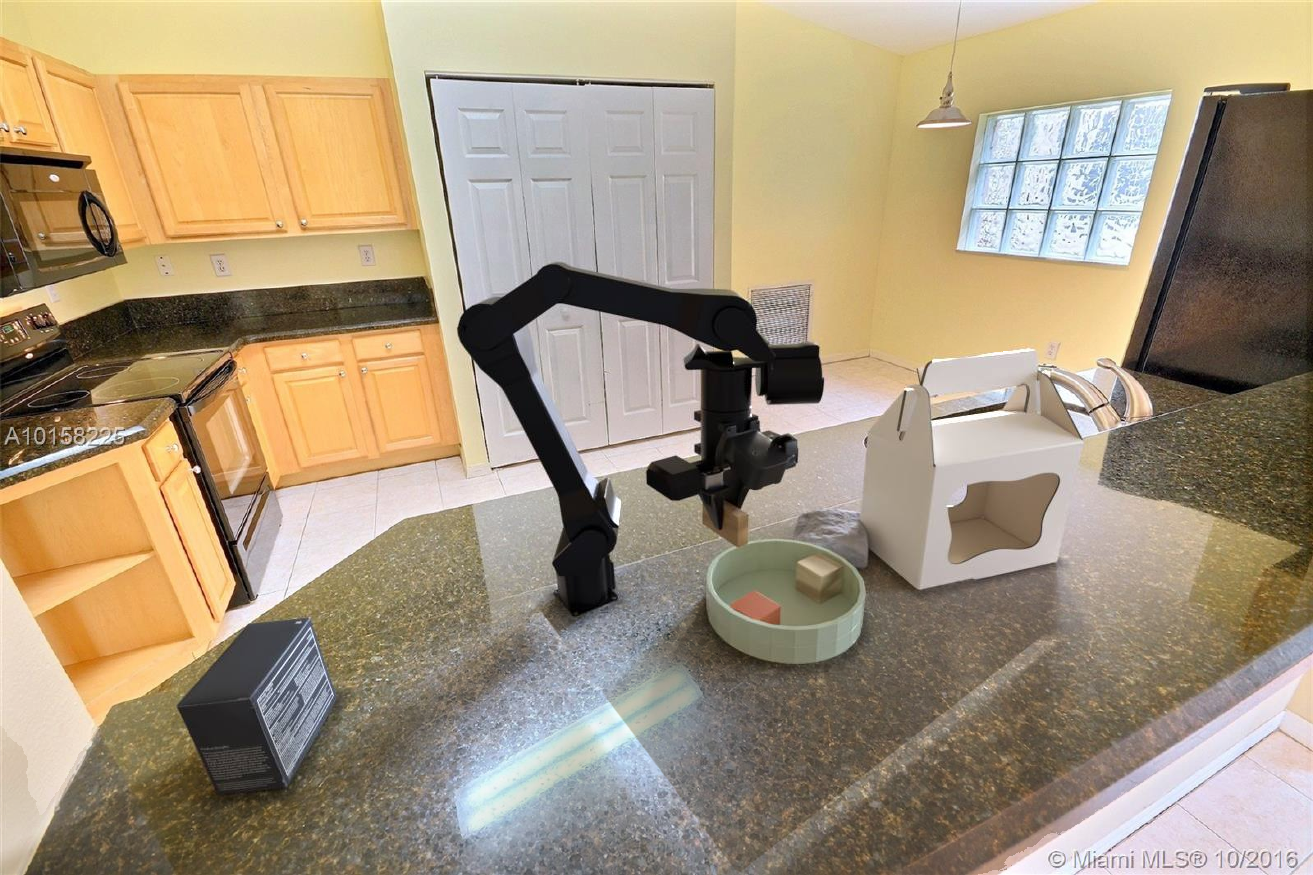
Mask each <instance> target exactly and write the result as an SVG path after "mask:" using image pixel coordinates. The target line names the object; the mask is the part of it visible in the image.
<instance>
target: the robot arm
mask: <svg viewBox="0 0 1313 875" xmlns="http://www.w3.org/2000/svg"><path fill="white" fill-rule="evenodd" d="M556 305H567V306H571V307H575V308H581V309H586V310H589V311H590V310H591V311H595V312H600V313H603V314H604V313H605V314H609V315H613V316H619V317H623V318H627V319H631V320H637V321H641V322H647V323H651V324H656V325H661V326H664V327H668V328H669V329H672V330H674V331H677V332H678V333H681V334H683V335H685V336H687V337H689V338H691V339H692V340H695V341H697V342H700V343H702V344H705V345H708V346H709V347H711V348H715V349H717V350H705V348H703V347H702V346H701V344H700V343H697V344H695V346H694V348H693V350H692V351H690V352H689V353H688V354H687V355H686V356H684V358H683V361H682V362H683V366H684V369H685V370H686V371H700V409H699V410H695V411H693V420H694V421H696V422H698V423H700V442H699V443H694V444H693V447H694V448H693V451H694V454H696V455H698V456H700V459H699V460H696V461H691V462H689V461H687V460H685V459H684V458H682V457H680V456H678V455H676V454H675V455H672V456H669V457H664V458H661V459H657V460H653V461H651V462H650V463H649V464H648V466H647V468H646V469H645V477H646V478H645V479H646V480H645V481H646V485H647V486H649V487H650V488H651V489H653V490H655V491H656V492H657V493H659V494H661V495H662V496H664V498H666V499H668V500H670V501H672V502H679V501H683V500H686V499H688V498H692V497H695V496H699V498H700V501H701V502H703V504H704V506H705V509H706V511H707V513H708V515H709V517H710V519H711V521H712V523H713V525H714V527H715V528H716V529H718V530H722V526H723V518H724V500H725V501H727V502H729V503H730V504H732V505H734V506H736V507H737V508H739V509H741V510H742V508H743V505H744V502H745V501H746V498H747V496H748V494H749V492H750V491H760V490H762V489H763V488H765V487H769V486H771V485H778V484H780V483H781V482H782V480H783V477H784V475H785V472H786V470H790V469H793V468H795V467H796V466H797V464H798V463H799V446H798V438H797V437H796V436H794V435H793V434H792V433H790V432H787V433H783V434H779V433H777V432H774V431H773V430H769V429H768V430H764V431H762V430H761V421H760V419H759V415H757V414H755V413H752V395H753V394H752V392H753V390H752V388H753V369H755V371H754V372H755V373H754V380H755V381H754V383H755V384H754V385H755V393H756V396H757V397H764V401H765V403H766V405H767V406H774V405H775V406H778V405H813V404H820V402H821V401H822V398H823V395H824V389H825V377H824V376H823V366H822V361H821V357H820V345H818V343H816V342H815V341H803V342H798V343H787V344H770V342H769V341H768V339H767V338H766V337H765V336H764V335H763V334H761V333H760V332H759V331H758V330H757V327H758V317H757V312H756V310H755V308H754V307H753V305H752V303H751V302H749V301H748V300H747V299H746V298H745V297H744V296H742V295H741V294H740V293H739V292H736V291H734V290H733V289H725V288H724V289H723V288H722V289H721V288H671V287H666V286H661V285H657V284H652V283H647V282H643V281H639V280H634V279H630V278H625V277H620V276H616V275H610V274H607V273H602V272H598V271H593V270H589V269H583V268H580V267H575V266H572V265H569V264H567V263H566V262H564V261H554V262H551V263H547V264H546V265H543V266H542V267H541V268H539V269H538V270H537V272H536V274H534V275H533V276H531V277H530V278H529V279H527V280H525V281H524V282H523V283H521V284H519V285H518V286H517V287H515V288H513V289H512V290H511V291H509V292H508V293H506V294H505V295H503V296H492V297H489V298H486V299H483V300H482V301H479V302H477V303H475V304H472V305H471V306H469V307H468V308H466V309H465V310H464V311H463V313H462V314H461V316H460V317H459V321H458V323H457V327H456V332H457V337H458V340H459V343H460V344H461V346H462V347H463V349H464V350H465V351H466V352H467V354H468V355H469V356H470V358H471V359H472V360H473V362H474V363H475V364H476V365H477V367H478V368H479V369H480V371H482V372H483V373H484V374H485V375H486V376H488V378H490V379H491V380H492V381H493V382H494V383H496V384H497V386H499V388H500V389H501V390H502V391H503V394H504V396H505V397H506V399H507V401H508V403H509V405H510V406H511V409H512V411H513V412H514V414H515V417H516V418H517V420H518V422H519V424H520V426H521V428H522V429H523V431H524V433H525V436H526V437H527V440H528V441H529V443H530V445H531V447H532V449H533V450H534V452H535V454H536V455H537V458H538V460H539V462H540V463H541V465H542V468H543V469H544V471H545V473H546V475H547V477H548V479H549V481H550V483H551V485H552V486H553V488H554V491H555V492H556V495H557V498H558V504H559V510H560V511H559V512H560V515H561V522H562V529H561V532H560V536H559V539H558V543H557V546H556V549H555V551H554V555H553V559H552V562H551V565H552V567H553V569H554V571H555V576H556V584H557V589H556V590H554V591H553V594H554V595H555V597H556V598H557V599H558V600H559V601H560V603H561V604H562V605H563V607H564V608H565V609H566V610H567V611H568V612H569V614H570V615H571V616H572V617H579V616H581V615H584V614H585V613H589V612H591V611H593V610H596V609H598V608H601V607H603V606H605V605H608V604H611V603H613V602H615V601H617V600H619V599H620V596H619V595H618V593H616V592H615V590H616V588H617V587H616V576H615V575H616V574H615V562H614V561H613V560H612V559H611V553H612V552H613V550H614V549H615V547H616V545H617V543H618V542H617V541H618V536H619V535H618V534H619V527H620V518H621V511H622V505H623V504H622V503H623V502H622V500H621V499H620V498H619V497H618V496H617V495H616V493H615V490H614V489H613V485H612V482H611V479H610V477H606V478H604V479H602V480H600V481H599V480H597V479H596V478H595V477H594V476H593V475H592V474H591V473H590V472H589V471H588V469H587V467H586V465H585V463H584V461H583V459H582V456H581V455H580V453H579V450H578V448H577V446H576V445H575V442H574V441H573V439H572V437H571V434H570V432H569V431H568V429H567V426H566V424H565V423H564V420H563V418H562V416H561V415H560V413H559V411H558V408H557V406H556V404H555V403H554V400H553V398H552V396H551V395H550V392H549V390H548V388H547V386H546V384H545V382H544V381H543V377H542V376H541V375H540V372H539V369H538V367H537V361H536V356H535V349H534V342H533V339H532V336H531V332H530V329H529V326H528V325H529V324H530V323H532V322H533V321H534V320H536V319H537V318H539V317H540V316H541V315H544V314H545V313H546V312H547V311H549V310H550V309H551V308H553V307H555V306H556ZM735 351H738V352H739V353H741V354H742V355H744V356H745V357H743V356H742V357H741V356H740V357H739V356H733V352H735ZM614 597H616V598H614Z"/></svg>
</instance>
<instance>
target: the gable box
mask: <svg viewBox="0 0 1313 875" xmlns="http://www.w3.org/2000/svg"><path fill="white" fill-rule="evenodd" d="M916 371H917V379H918V383H919V384H915V383H913V384H910V385H908V386H907V387H906V388H904V389H903V391H902V392H901V393H900V394H899V395H898V397H897V398H896V399H895V400H894V401H893V402H892V403H891V404H890V405H889V407H888V408H887V409H886V410H885V411H884V412H883V414H882V415H881V416H880V417H879V418H878V419H877V420H876V421H875V422H874V424H873V425H872V426H871V427H870V428H869V430H868V431H867V437H866V438H867V439H866V441H867V442H866V450H865V460H864V462H865V463H864V471H863V472H864V473H863V484H862V485H863V486H862V496H861V509H860V512H861V517H860V521H861V522H862V523H863V526H864V529H865V531H866V535H867V540H868V550H870V551H872V552H873V553H874V554H875V555H877V557H879V558H880V559H881V560H882V561H883V562H884V563H886V564H887V565H888V566H889V567H890V568H892V569H893V570H894V571H895V572H896V573H897V574H898V575H899V576H901V577H902V578H903V579H904V580H905V581H907V582H908V584H910V585H911V586H913V588H915V589H916V590H924V589H929V588H934V587H938V586H943V585H948V584H952V583H956V582H961V581H966V580H969V579H973V580H981V579H985V578H986V579H987V578H990V577H994V576H999V575H1003V574H1008V573H1013V572H1017V571H1022V570H1026V569H1031V568H1035V567H1036V568H1037V567H1040V566H1045V565H1049V564H1050V565H1051V564H1054V563H1057V562H1058V559H1059V553H1060V550H1061V545H1062V541H1063V537H1064V532H1065V528H1066V524H1067V521H1068V520H1067V519H1068V515H1069V511H1070V506H1071V502H1072V497H1073V493H1074V489H1075V485H1076V479H1077V475H1078V471H1079V466H1080V462H1081V458H1082V453H1083V449H1084V445H1085V441H1084V439H1083V437H1082V435H1081V433H1080V431H1079V429H1078V427H1077V426H1076V423H1075V421H1074V420H1073V418H1072V416H1071V413H1070V412H1069V410H1068V408H1067V406H1066V404H1065V403H1064V401H1063V399H1062V397H1061V395H1060V393H1059V391H1058V389H1057V387H1056V385H1055V383H1054V381H1053V380H1052V378H1051V371H1049V370H1044V371H1041V370H1039V353H1038V351H1037V350H1035V349H1030V348H1027V349H1020V350H1013V351H1003V352H1002V351H1001V352H993V353H985V354H978V355H967V356H960V357H953V358H952V357H950V358H942V359H933V360H930V361H928V362H927V363H926V364H925V366H921V367H916ZM1010 387H1011V388H1012V387H1014V389H1013V391H1012V393H1011V395H1010V396H1009V398H1008V400H1007V402H1006V403H1005V405H1004V406H1003V408H1002V410H998V411H997V410H996V411H991V412H984V413H977V414H970V415H963V416H956V417H955V416H954V417H949V418H948V417H947V418H943V419H941V418H940V419H935V420H932V406H931V399H935V398H937V397H942V396H950V395H957V394H966V393H972V392H980V391H988V390H995V389H996V390H997V389H1003V388H1010ZM1038 412H1039V413H1038ZM964 487H966V494H965V497H964V499H962V501H961V502H960V503H958V504H955V505H949V504H950V501H951V499H952V497H953V496H954V494H956V493H957V492H958V491H959V490H960V489H962V488H964Z"/></svg>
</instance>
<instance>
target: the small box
mask: <svg viewBox="0 0 1313 875" xmlns="http://www.w3.org/2000/svg"><path fill="white" fill-rule="evenodd" d="M338 698H339V697H338V695H337V692H336V689H335V686H334V684H333V681H332V679H331V676H330V673H329V670H328V667H327V664H326V661H325V659H324V654H323V652H322V649H321V646H320V643H319V640H318V637H317V634H316V631H315V628H314V626H313V621H312V619H311V617H310V616H306V617H298V618H288V619H280V620H270V621H261V622H259V621H258V622H251V623H247V625H246V626H245V627H244V628H243V629H242V630H241V632H240V633H239V634H238V635H237V636H236V637H235V638H234V640H233V641H232V642H231V643H230V644H229V645H228V647H226V649H225V650H224V651H223V652H222V653H221V655H219V657H218V658H217V659H216V660H215V661H214V662H213V663H212V665H210V667H209V668H208V669H207V670H206V672H205V673H204V674H203V675H201V677H200V678H199V679H198V681H197V682H196V683H195V684H194V685H193V686H192V687H191V688H190V690H188V692H186V694H185V695H184V696H183V698H181V700H180V701H179V702H178V703H177V704H176V706H175V707H176V709H177V710H178V712H179V715H180V716H181V719H182V721H183V723H184V725H185V728H186V729H187V732H188V734H189V736H190V738H191V740H192V742H193V745H194V746H195V749H196V751H197V753H198V756H199V757H200V760H201V762H202V764H203V766H204V768H205V770H206V773H207V775H208V778H209V779H210V782H211V784H212V786H213V788H214V791H215V793H216V795H218V796H222V795H233V794H242V793H251V792H261V791H272V790H281V789H286V788H288V786H290V783H291V782H292V780H293V778H294V777H295V775H296V773H297V771H298V769H299V767H300V766H301V765H302V762H303V760H304V759H305V757H306V755H307V753H308V752H309V750H310V748H311V747H312V744H313V743H314V741H315V739H316V737H317V736H318V735H319V732H320V730H321V728H322V727H323V725H324V724H325V721H326V720H327V718H328V716H329V715H330V712H331V711H332V709H333V707H334V705H335V704H336V702H337V700H338Z"/></svg>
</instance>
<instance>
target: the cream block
mask: <svg viewBox="0 0 1313 875" xmlns="http://www.w3.org/2000/svg"><path fill="white" fill-rule="evenodd" d="M843 570H844V566H843V565H841V564H840V563H838V562H836V561H834V560H833V559H831V558H829V557H827V556H825V555H824V554H822V553H820V552H818V553H816V554H814V555H812V556H809V557H807V558H805V559H803V560H801V561H798V562H797V571H796V589H797V590H798V591H800V592H801V593H803V594H804V595H806V596H807V597H809V598H810V599H812V600H813V601H815V602H816V603H818V604H819V605H820V604H822V603H823V602H825V601H827V600H829V599H831V598H833V597H835V596H837V595H839V594H841V593H842V583H843Z"/></svg>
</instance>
